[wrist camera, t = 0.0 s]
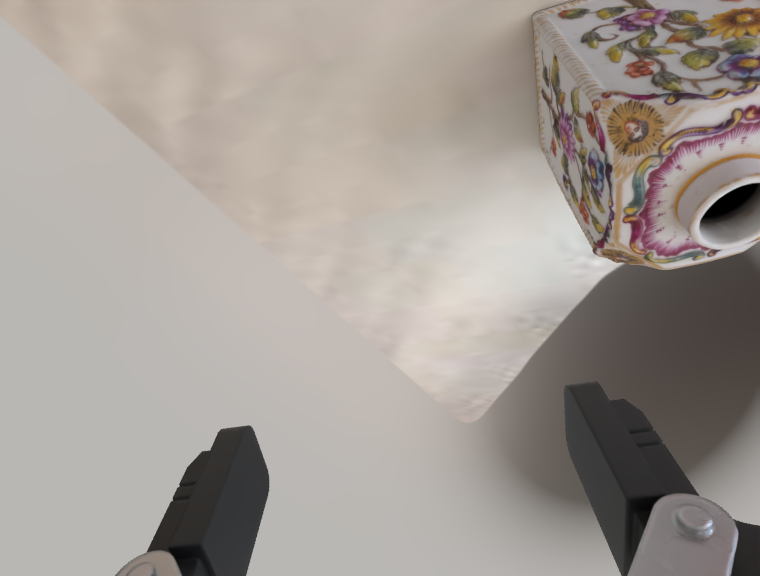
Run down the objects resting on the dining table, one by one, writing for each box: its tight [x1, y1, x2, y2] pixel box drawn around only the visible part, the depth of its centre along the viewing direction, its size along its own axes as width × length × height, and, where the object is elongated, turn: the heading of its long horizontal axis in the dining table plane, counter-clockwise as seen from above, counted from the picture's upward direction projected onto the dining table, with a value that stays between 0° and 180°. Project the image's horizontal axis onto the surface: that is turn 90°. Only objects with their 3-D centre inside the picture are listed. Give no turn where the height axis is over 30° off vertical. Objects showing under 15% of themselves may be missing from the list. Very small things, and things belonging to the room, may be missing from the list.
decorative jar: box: [533, 0, 760, 270], centre depth 33 cm, size 12×12×18 cm
